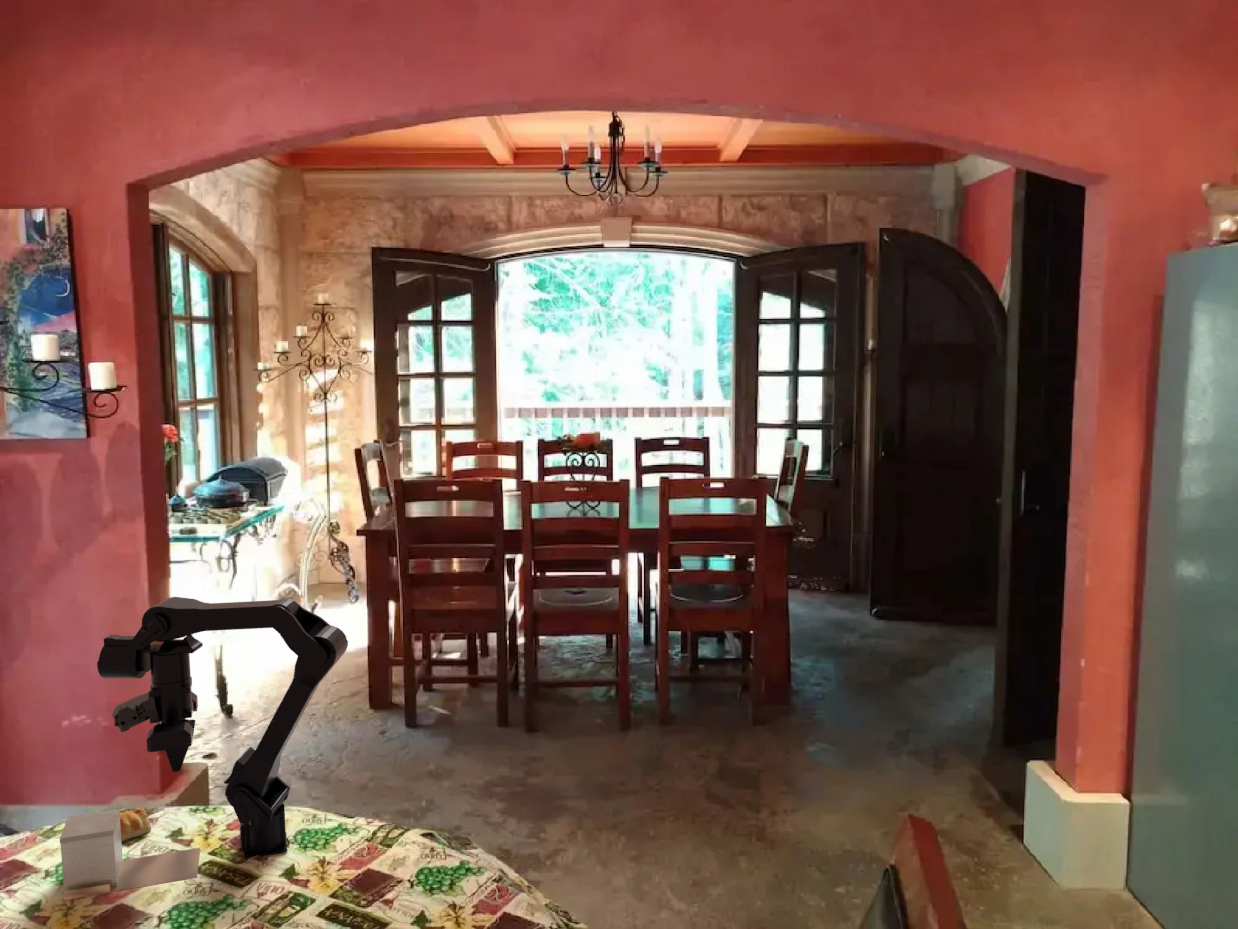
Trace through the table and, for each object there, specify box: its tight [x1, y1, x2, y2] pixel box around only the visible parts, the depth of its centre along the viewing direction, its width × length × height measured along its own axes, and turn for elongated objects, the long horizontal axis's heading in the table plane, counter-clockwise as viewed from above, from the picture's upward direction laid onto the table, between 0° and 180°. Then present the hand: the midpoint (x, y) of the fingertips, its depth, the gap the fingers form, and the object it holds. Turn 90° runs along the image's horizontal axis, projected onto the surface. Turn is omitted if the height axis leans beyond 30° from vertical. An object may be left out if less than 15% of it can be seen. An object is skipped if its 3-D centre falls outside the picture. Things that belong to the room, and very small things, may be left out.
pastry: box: [120, 806, 152, 842], centre depth 164 cm, size 9×7×4 cm
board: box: [63, 847, 201, 901], centre depth 152 cm, size 18×9×1 cm, turn 110°
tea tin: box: [59, 808, 124, 893], centre depth 149 cm, size 7×7×9 cm
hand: (176, 770), depth 159 cm, fingers closed
